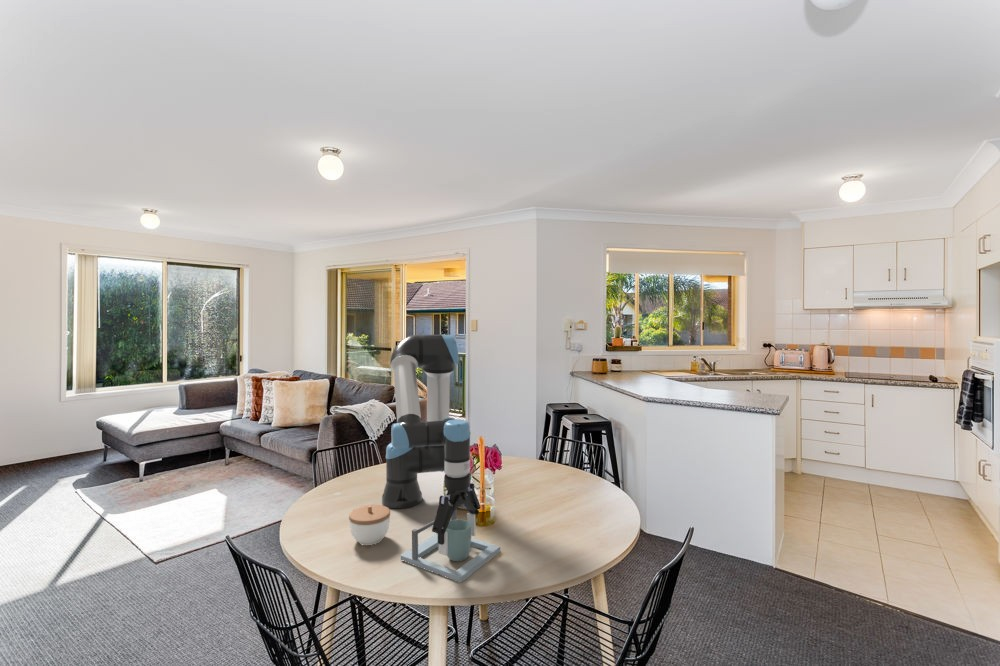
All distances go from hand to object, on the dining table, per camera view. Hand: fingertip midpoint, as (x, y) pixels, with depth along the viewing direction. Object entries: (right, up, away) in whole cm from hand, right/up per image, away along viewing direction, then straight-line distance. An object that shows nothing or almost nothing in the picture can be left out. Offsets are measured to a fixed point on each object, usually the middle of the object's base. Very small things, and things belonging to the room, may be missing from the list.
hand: (457, 544), depth 143 cm
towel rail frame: (-2, -4, +1) cm, 5 cm away
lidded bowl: (-29, -4, +11) cm, 31 cm away
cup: (0, -4, 0) cm, 4 cm away
